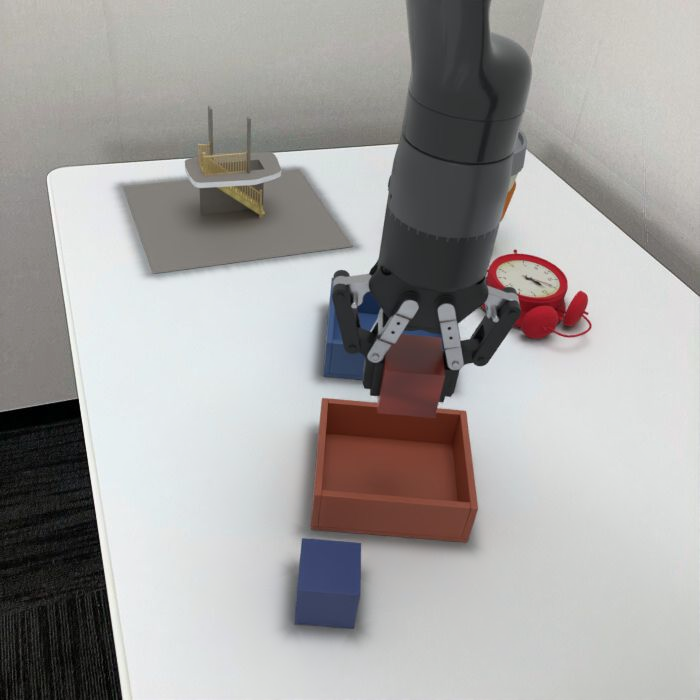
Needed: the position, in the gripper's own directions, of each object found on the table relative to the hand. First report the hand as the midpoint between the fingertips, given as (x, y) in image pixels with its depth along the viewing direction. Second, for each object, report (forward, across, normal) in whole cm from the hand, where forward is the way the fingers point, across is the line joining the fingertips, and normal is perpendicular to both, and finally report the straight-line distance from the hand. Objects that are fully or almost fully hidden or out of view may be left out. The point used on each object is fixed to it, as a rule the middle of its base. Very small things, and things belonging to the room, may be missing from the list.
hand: (406, 391), depth 61 cm
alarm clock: (+12, +17, +28) cm, 35 cm away
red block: (+1, 0, 0) cm, 1 cm away
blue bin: (+12, 0, +19) cm, 22 cm away
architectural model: (+12, -20, +43) cm, 49 cm away
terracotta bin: (+11, 0, 0) cm, 11 cm away
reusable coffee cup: (+12, +9, +42) cm, 45 cm away
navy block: (+11, -5, -12) cm, 17 cm away
